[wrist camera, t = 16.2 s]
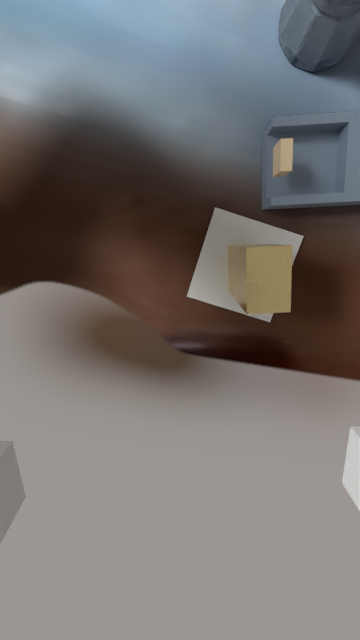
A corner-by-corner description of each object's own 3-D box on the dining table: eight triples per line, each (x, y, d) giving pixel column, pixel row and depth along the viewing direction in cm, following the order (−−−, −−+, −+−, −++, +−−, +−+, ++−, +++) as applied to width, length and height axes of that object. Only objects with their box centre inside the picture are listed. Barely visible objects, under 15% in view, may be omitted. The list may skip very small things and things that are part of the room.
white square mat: (186, 295, 44) (186, 296, 43) (214, 207, 41) (215, 207, 41) (269, 321, 44) (270, 322, 44) (302, 236, 42) (303, 236, 41)
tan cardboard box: (228, 291, 43) (246, 314, 30) (227, 245, 42) (246, 247, 28) (258, 289, 43) (290, 312, 29) (258, 243, 41) (292, 245, 28)
